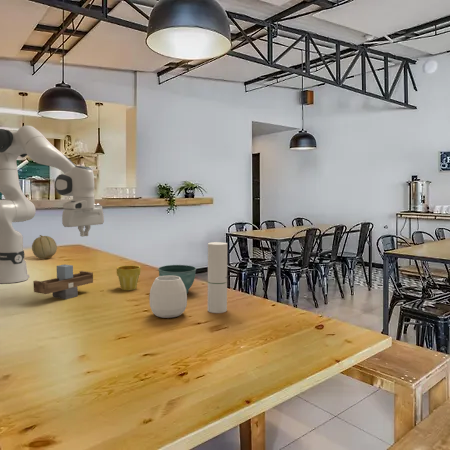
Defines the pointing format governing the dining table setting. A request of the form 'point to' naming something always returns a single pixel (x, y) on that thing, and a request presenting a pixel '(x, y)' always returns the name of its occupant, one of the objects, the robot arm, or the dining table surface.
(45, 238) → the cantaloupe
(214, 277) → the cylindrical container
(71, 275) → the block
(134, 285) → the plant pot
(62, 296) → the beam
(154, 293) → the white vase
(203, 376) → the dining table surface
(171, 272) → the flower pot
